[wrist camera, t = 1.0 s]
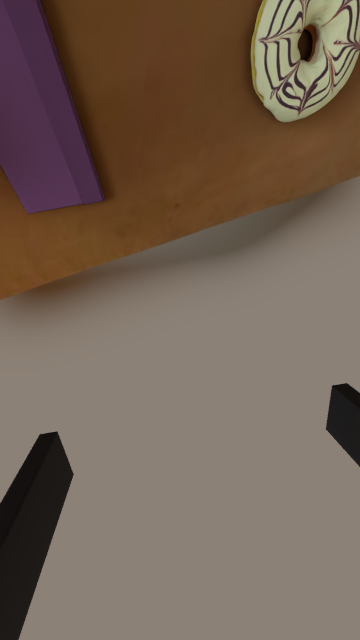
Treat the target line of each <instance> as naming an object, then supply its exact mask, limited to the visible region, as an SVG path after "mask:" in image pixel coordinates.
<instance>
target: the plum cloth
mask: <svg viewBox="0 0 360 640" xmlns="http://www.w3.org/2000/svg"><path fill="white" fill-rule="evenodd" d="M0 165H1V167H2V169H3V171H4V172H5V174H6V176H7V178H8V180H9V181H10V183H11V185H12V187H13V188H14V190H15V192H16V194H17V196H18V197H19V199H20V201H21V203H22V205H23V206H24V208H25V210H26V212H27V213H28V214H29V213H35V212H40V211H45V210H51V209H56V208H62V207H67V206H72V205H78V204H89V203H95V202H100V201H103V200H104V199H105V196H104V193H103V190H102V187H101V183H100V180H99V177H98V174H97V171H96V168H95V165H94V162H93V159H92V156H91V153H90V150H89V147H88V144H87V141H86V137H85V134H84V131H83V128H82V125H81V122H80V119H79V116H78V113H77V110H76V107H75V104H74V101H73V98H72V95H71V91H70V88H69V85H68V82H67V79H66V76H65V73H64V70H63V67H62V64H61V61H60V58H59V55H58V52H57V48H56V45H55V42H54V39H53V36H52V33H51V30H50V27H49V24H48V21H47V18H46V15H45V12H44V9H43V6H42V2H41V0H0Z"/></svg>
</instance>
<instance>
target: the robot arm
mask: <svg viewBox="0 0 360 640" xmlns="http://www.w3.org/2000/svg"><path fill="white" fill-rule="evenodd" d="M326 426H327V427H326V430H327V431H328V432H329V433H330V434H331V435H332V436H333V438H334V439H335V440H336V441H337V442H338V443H339V444H340V445H341V446H342V448H343V449H344V450H345V451H346V452H347V453H348V454H349V455H350V456H351V458H352V459H353V460H354V461H355V462H356V463H357V464H358V465H359V466H360V393H359V392H358V391H356V390H355V389H354V388H352V387H351V386H350V385H349V384H347V383H346V384H340V385H333V386H332V390H331V397H330V405H329V412H328V418H327V425H326ZM73 475H74V474H73V472H72V469H71V467H70V464H69V461H68V458H67V456H66V453H65V450H64V448H63V445H62V443H61V440H60V437H59V435H58V432H51V433H45V434H40V435H39V437H38V439H37V440H36V442H35V444H34V446H33V447H32V449H31V451H30V453H29V454H28V456H27V458H26V460H25V461H24V463H23V465H22V467H21V468H20V470H19V472H18V474H17V475H16V477H15V479H14V481H13V482H12V484H11V486H10V488H9V489H8V491H7V493H6V495H5V496H4V498H3V500H2V502H1V503H0V640H18V639H19V636H20V633H21V630H22V627H23V624H24V621H25V618H26V615H27V612H28V609H29V606H30V603H31V600H32V597H33V594H34V591H35V588H36V585H37V582H38V579H39V576H40V573H41V570H42V567H43V564H44V561H45V558H46V555H47V552H48V549H49V546H50V543H51V540H52V537H53V534H54V532H55V528H56V526H57V522H58V520H59V516H60V514H61V511H62V508H63V505H64V502H65V498H66V496H67V493H68V490H69V487H70V483H71V481H72V478H73Z"/></svg>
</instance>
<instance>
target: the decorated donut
mask: <svg viewBox="0 0 360 640" xmlns="http://www.w3.org/2000/svg"><path fill="white" fill-rule="evenodd" d="M304 29H306V31H307V30H308V31H310V32H311V35H312V38H313V48H312V53H311V55H310V58H309V59H308V61H307V62H306V61H304V60H301V58H300V52H299V49H298V47H297V45H298V40H299V38H300V36H301V34H302V32H303V30H304ZM359 52H360V0H263V2H262V4H261V7H260V9H259V12H258V15H257V19H256V24H255V30H254V33H253V37H252V44H251V66H252V78H253V86H254V89H255V91H256V94H257V95H258V97H259V99H260V100H261V101H262V103H263V104H264V106H265V107H266V108H267V109H268V110H270V111H271V112H272V114H273V115H274V116H275V118H276V119H277V120H279V121H281V122H291V121H295V120H298V119H301V118H305V117H307V116H309V115H310V114H312V113H314V112H316V111H318V110H319V109H320V108H322V107H323V106H325V105H326V104H327V103H328V102H329V101H330V100H331V99H332V98H333V97H334V96H335V95H336V94H337V93H338V92H339V91H340V90H341V88H342V87H343V86H344V85H345V83H346V82H347V80H348V78H349V77H350V74H351V72H352V70H353V68H354V66H355V63H356V60H357V58H358V55H359Z"/></svg>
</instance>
